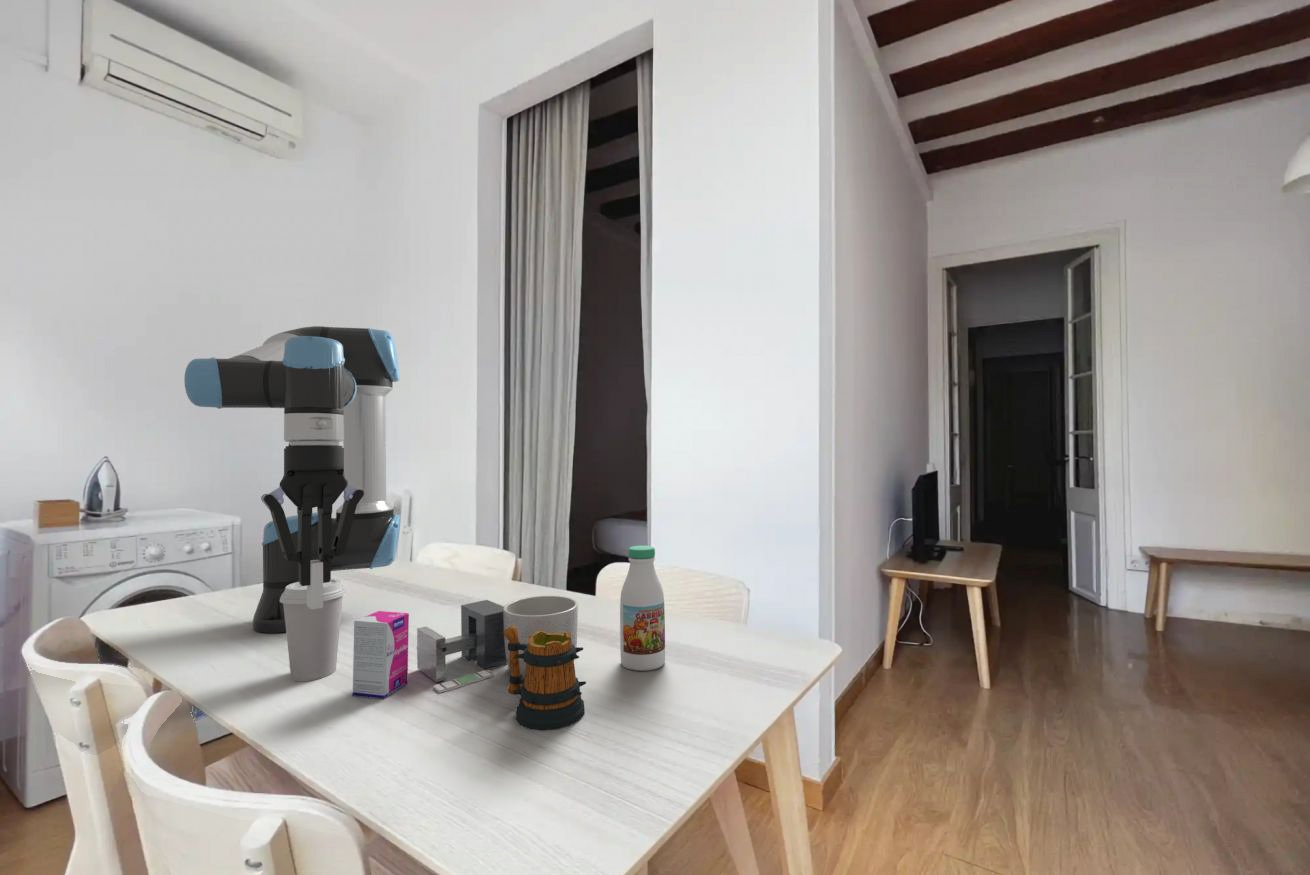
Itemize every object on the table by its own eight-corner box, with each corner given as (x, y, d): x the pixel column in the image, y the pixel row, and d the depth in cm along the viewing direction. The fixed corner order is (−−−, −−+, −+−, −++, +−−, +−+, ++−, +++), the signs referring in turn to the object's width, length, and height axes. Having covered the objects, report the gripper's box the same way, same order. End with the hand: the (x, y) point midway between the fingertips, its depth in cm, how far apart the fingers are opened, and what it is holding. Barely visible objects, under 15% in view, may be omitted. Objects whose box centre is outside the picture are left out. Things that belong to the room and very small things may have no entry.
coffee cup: (337, 658, 101) (336, 574, 102) (354, 672, 95) (353, 583, 95) (274, 673, 95) (273, 584, 95) (287, 690, 88) (287, 594, 88)
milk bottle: (611, 664, 97) (609, 547, 97) (642, 651, 103) (641, 541, 103) (643, 676, 92) (642, 553, 92) (674, 662, 98) (673, 546, 98)
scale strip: (433, 688, 88) (433, 685, 88) (487, 672, 94) (487, 669, 94) (439, 693, 86) (439, 690, 86) (493, 676, 93) (493, 673, 93)
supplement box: (385, 699, 84) (385, 622, 85) (351, 696, 86) (351, 620, 86) (410, 683, 90) (409, 611, 90) (377, 680, 91) (377, 609, 92)
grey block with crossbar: (417, 668, 96) (417, 628, 96) (483, 649, 104) (483, 613, 104) (442, 686, 88) (442, 643, 88) (512, 665, 96) (511, 626, 96)
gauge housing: (461, 656, 101) (461, 605, 102) (487, 649, 105) (487, 599, 105) (484, 670, 95) (484, 615, 95) (511, 662, 98) (511, 609, 98)
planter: (535, 652, 103) (534, 592, 103) (592, 663, 98) (591, 599, 98) (487, 677, 92) (486, 610, 92) (549, 691, 87) (548, 620, 87)
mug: (600, 704, 82) (599, 624, 82) (560, 738, 73) (559, 648, 73) (526, 689, 87) (526, 614, 88) (481, 719, 78) (480, 635, 78)
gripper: (265, 443, 75) (265, 622, 75) (370, 443, 84) (371, 602, 84) (256, 444, 81) (256, 610, 80) (355, 444, 89) (356, 593, 89)
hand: (314, 606), depth 82 cm, fingers closed
